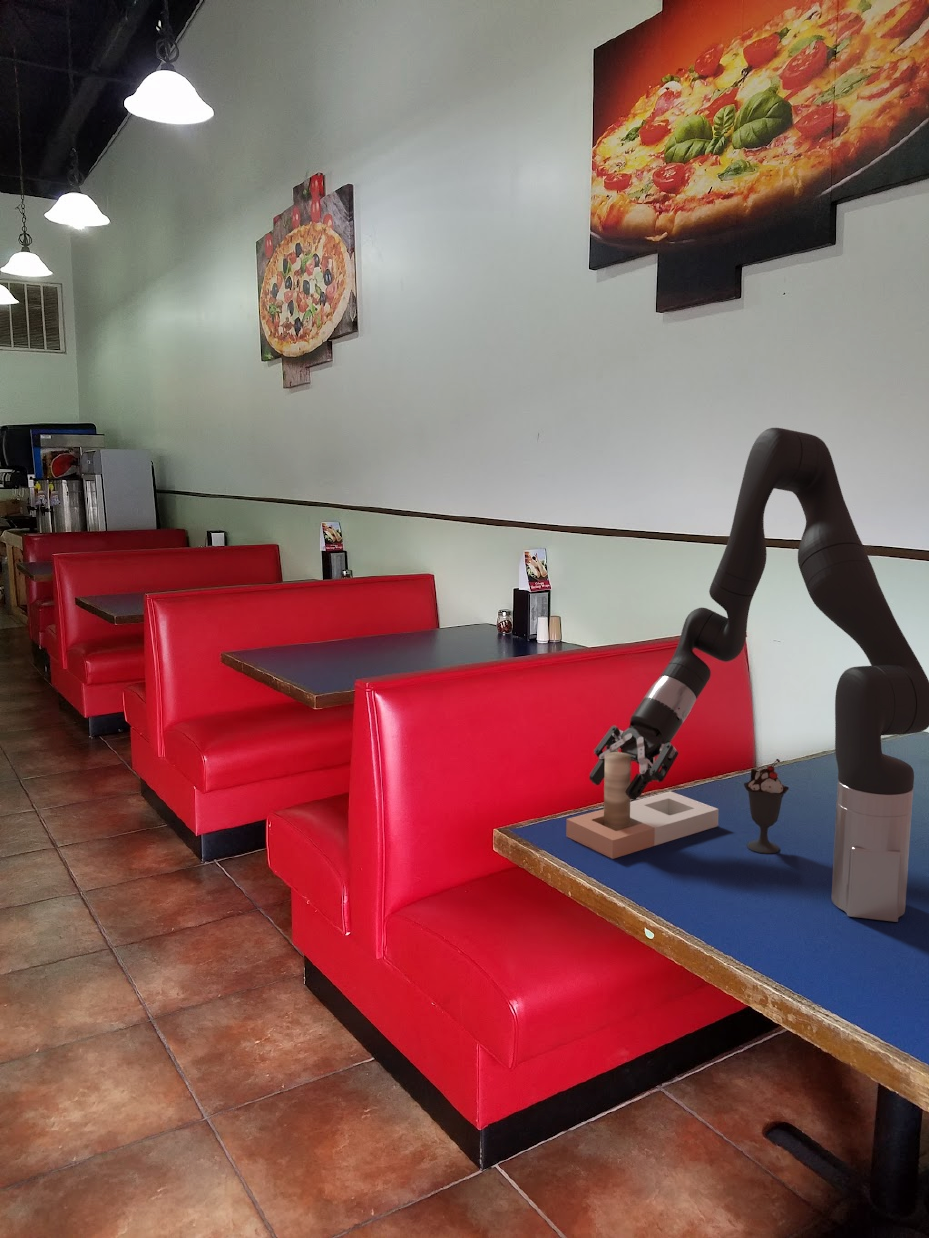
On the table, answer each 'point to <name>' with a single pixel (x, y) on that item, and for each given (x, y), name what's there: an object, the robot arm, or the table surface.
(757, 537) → the robot arm
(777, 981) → the table surface
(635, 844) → the dock board
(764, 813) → the sundae
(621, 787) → the peg
